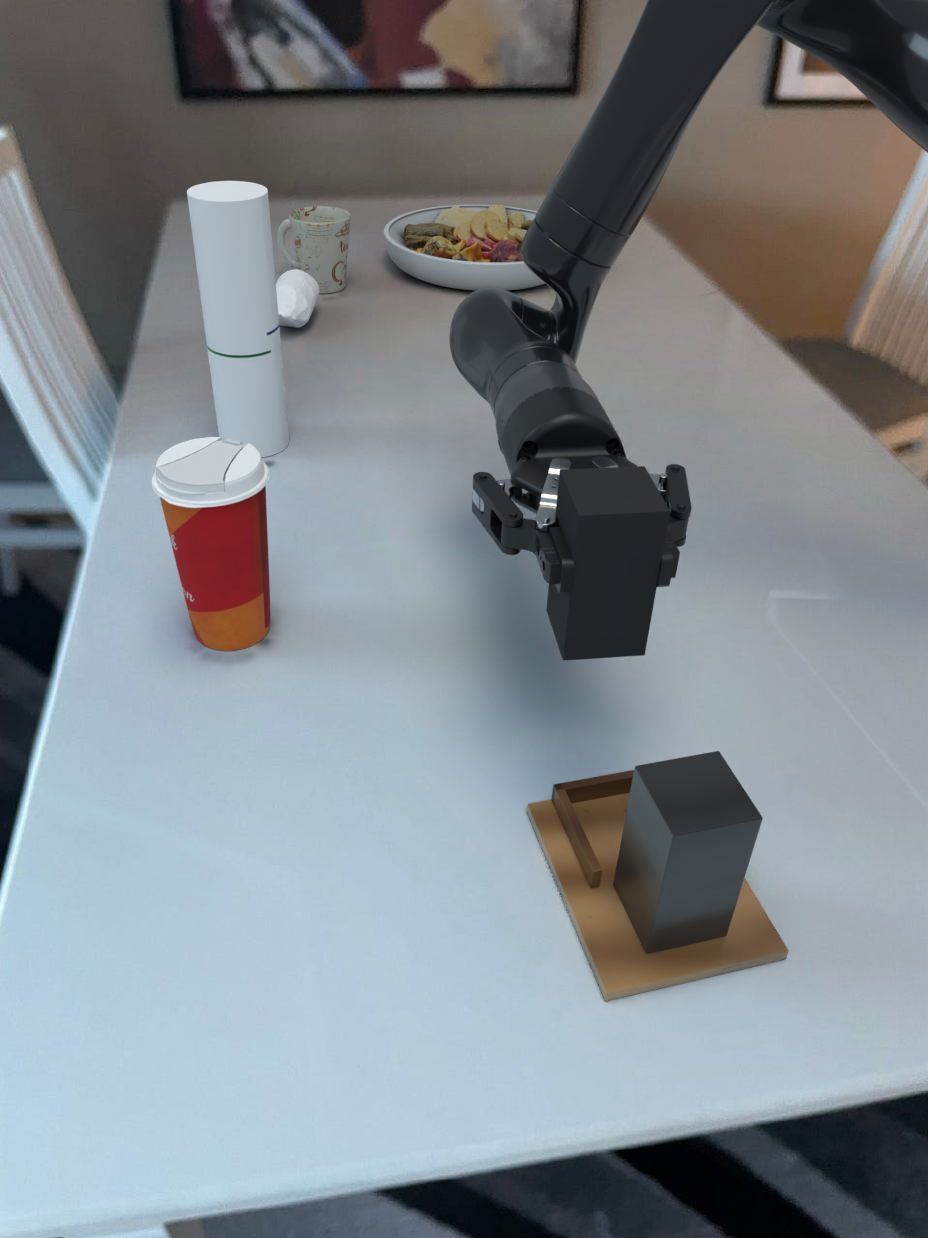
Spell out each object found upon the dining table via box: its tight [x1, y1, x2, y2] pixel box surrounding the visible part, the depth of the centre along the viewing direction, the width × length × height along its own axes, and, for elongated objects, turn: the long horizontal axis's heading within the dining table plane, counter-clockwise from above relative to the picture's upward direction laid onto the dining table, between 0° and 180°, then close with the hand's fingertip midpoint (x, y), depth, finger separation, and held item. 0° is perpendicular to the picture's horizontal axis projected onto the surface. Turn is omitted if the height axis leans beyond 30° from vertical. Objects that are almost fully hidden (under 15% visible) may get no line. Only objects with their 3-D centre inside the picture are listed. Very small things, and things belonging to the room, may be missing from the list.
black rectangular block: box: [546, 465, 670, 662], centre depth 58 cm, size 5×5×10 cm
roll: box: [276, 268, 320, 329], centre depth 130 cm, size 6×12×6 cm, turn 178°
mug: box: [276, 205, 351, 295], centre depth 141 cm, size 8×13×10 cm, turn 58°
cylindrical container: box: [186, 180, 290, 458], centre depth 97 cm, size 7×7×25 cm
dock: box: [526, 750, 790, 1002], centre depth 58 cm, size 14×11×11 cm
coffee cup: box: [151, 436, 271, 652], centre depth 75 cm, size 8×8×15 cm
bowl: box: [383, 203, 546, 292], centre depth 151 cm, size 30×30×8 cm
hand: (617, 576), depth 55 cm, fingers closed on black rectangular block, 5 cm apart
